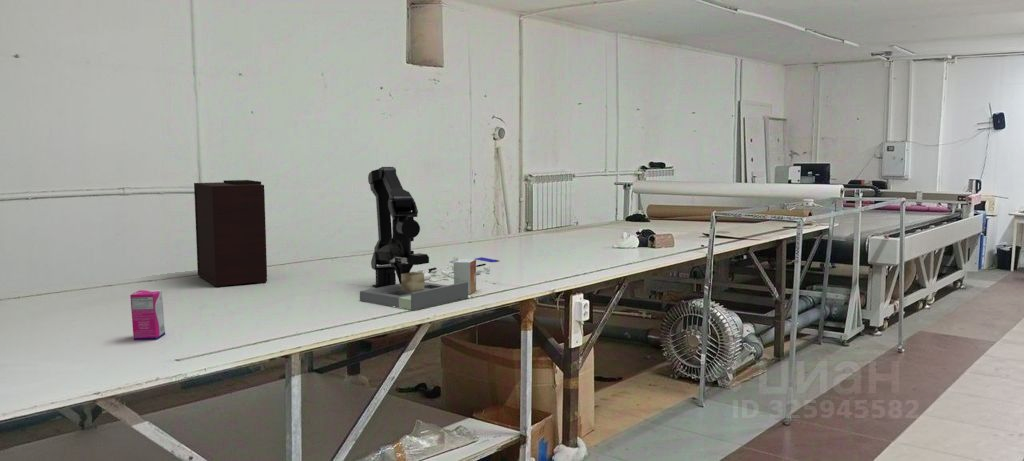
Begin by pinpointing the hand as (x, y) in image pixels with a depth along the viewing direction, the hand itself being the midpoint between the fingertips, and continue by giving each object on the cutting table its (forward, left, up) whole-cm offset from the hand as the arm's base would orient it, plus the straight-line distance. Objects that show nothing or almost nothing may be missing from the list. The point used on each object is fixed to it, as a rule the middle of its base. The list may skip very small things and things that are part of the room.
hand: (402, 284), depth 242 cm
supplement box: (-12, -75, -4) cm, 76 cm away
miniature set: (-15, +40, -5) cm, 43 cm away
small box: (+10, +19, -5) cm, 22 cm away
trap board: (+5, 0, -4) cm, 6 cm away
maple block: (+5, 0, -1) cm, 5 cm away
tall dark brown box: (-70, -14, -4) cm, 72 cm away
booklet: (-33, +69, -5) cm, 77 cm away
